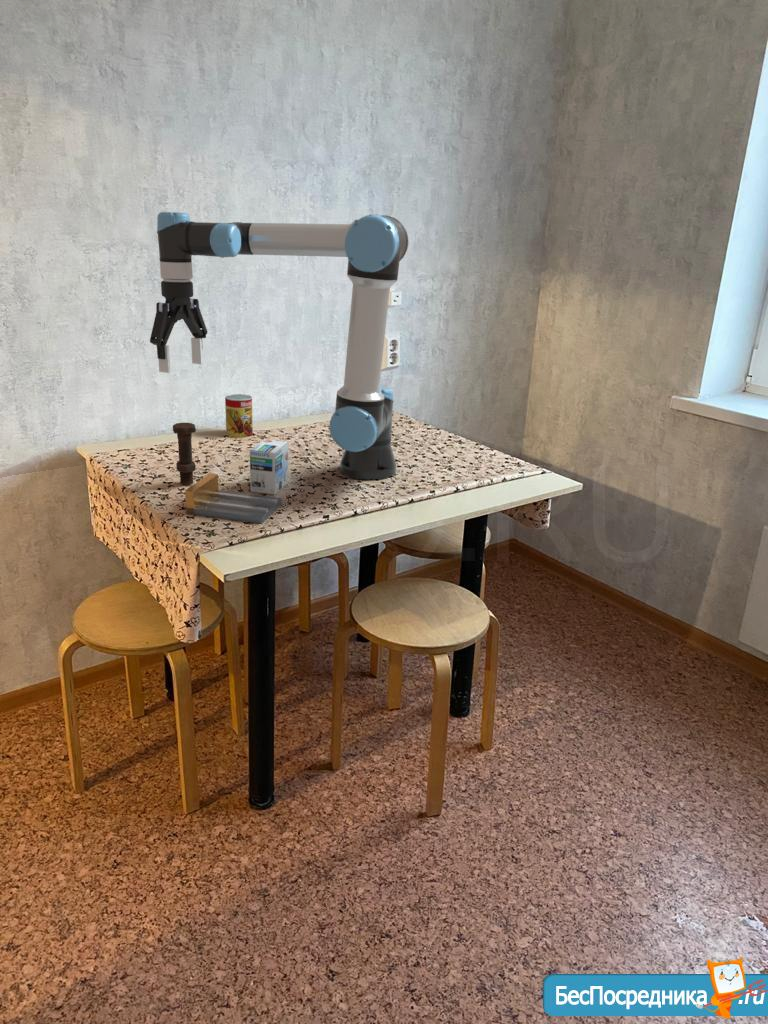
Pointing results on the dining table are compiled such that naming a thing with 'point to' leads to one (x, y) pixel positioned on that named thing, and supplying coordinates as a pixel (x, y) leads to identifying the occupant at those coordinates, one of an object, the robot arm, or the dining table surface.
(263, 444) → the light bulb box
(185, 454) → the bolt
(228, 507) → the rail plate
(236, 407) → the canned food
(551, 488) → the dining table surface
